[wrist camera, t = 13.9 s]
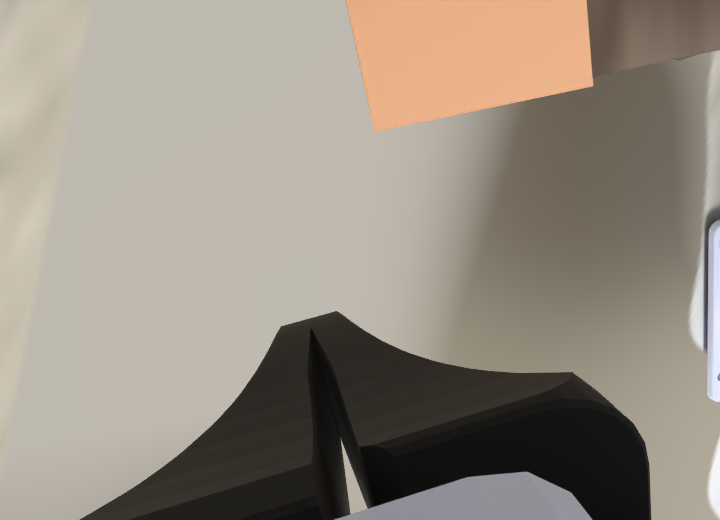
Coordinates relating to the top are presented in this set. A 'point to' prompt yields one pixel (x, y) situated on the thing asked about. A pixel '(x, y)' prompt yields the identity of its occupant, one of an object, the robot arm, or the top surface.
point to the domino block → (649, 31)
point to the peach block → (466, 54)
